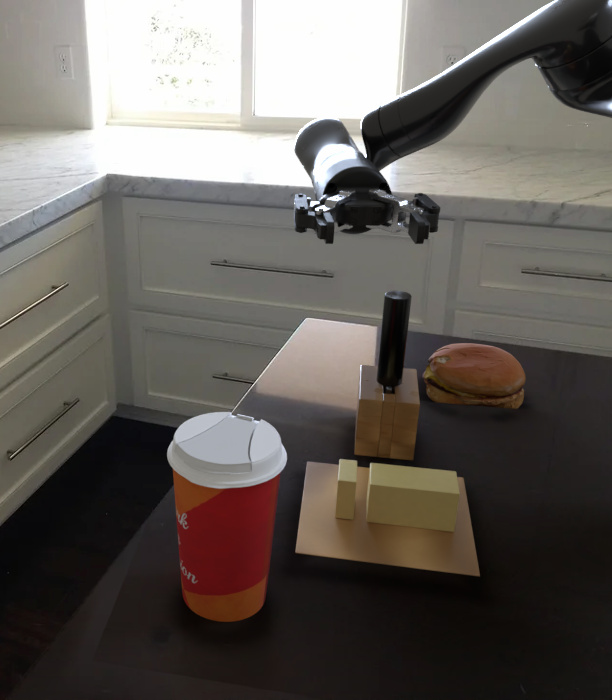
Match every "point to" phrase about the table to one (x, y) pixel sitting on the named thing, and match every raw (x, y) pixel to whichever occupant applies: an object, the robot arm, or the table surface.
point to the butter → (412, 497)
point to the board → (378, 530)
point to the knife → (393, 339)
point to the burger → (475, 376)
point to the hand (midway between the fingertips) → (375, 234)
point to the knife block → (386, 416)
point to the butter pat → (346, 489)
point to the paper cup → (225, 511)
